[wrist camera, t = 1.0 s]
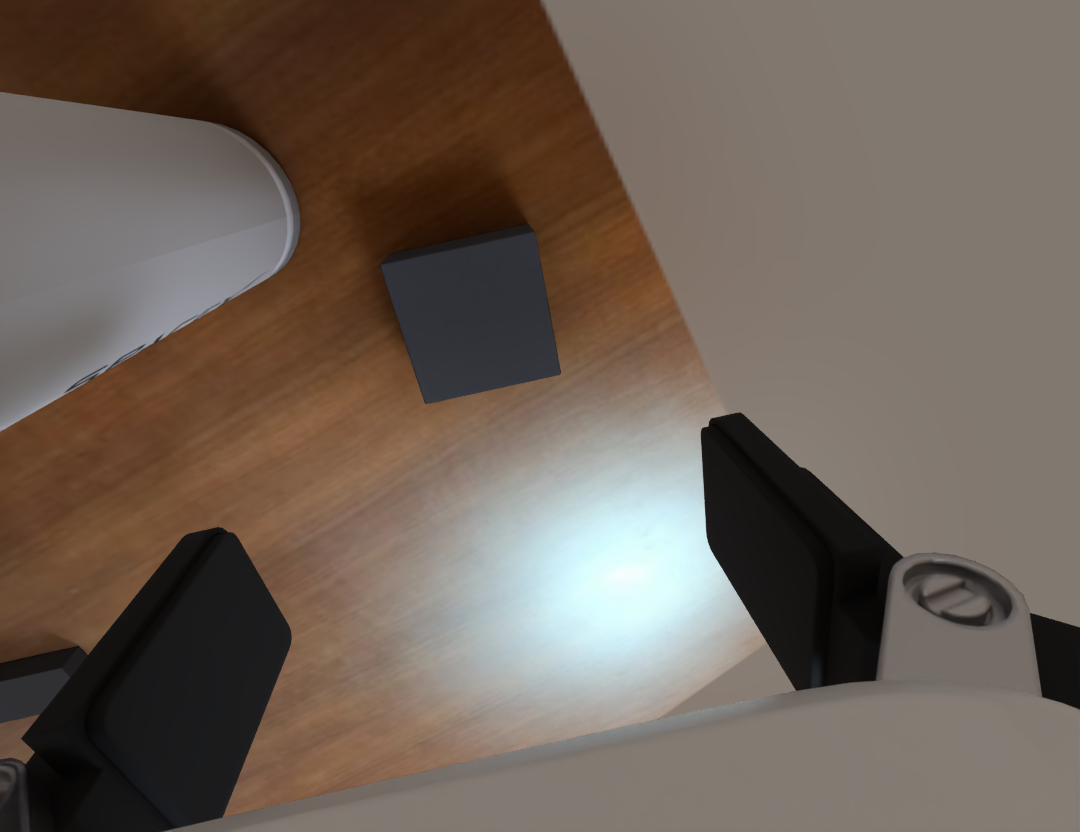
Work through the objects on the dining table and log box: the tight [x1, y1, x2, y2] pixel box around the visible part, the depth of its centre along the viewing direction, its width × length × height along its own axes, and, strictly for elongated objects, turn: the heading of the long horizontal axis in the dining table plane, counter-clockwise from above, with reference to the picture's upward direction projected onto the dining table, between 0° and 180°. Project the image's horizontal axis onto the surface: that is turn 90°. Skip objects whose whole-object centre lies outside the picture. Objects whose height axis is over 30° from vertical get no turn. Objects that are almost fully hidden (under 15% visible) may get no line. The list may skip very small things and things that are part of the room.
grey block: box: [380, 224, 561, 404], centre depth 23 cm, size 6×6×3 cm
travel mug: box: [0, 92, 300, 431], centre depth 12 cm, size 6×7×20 cm
